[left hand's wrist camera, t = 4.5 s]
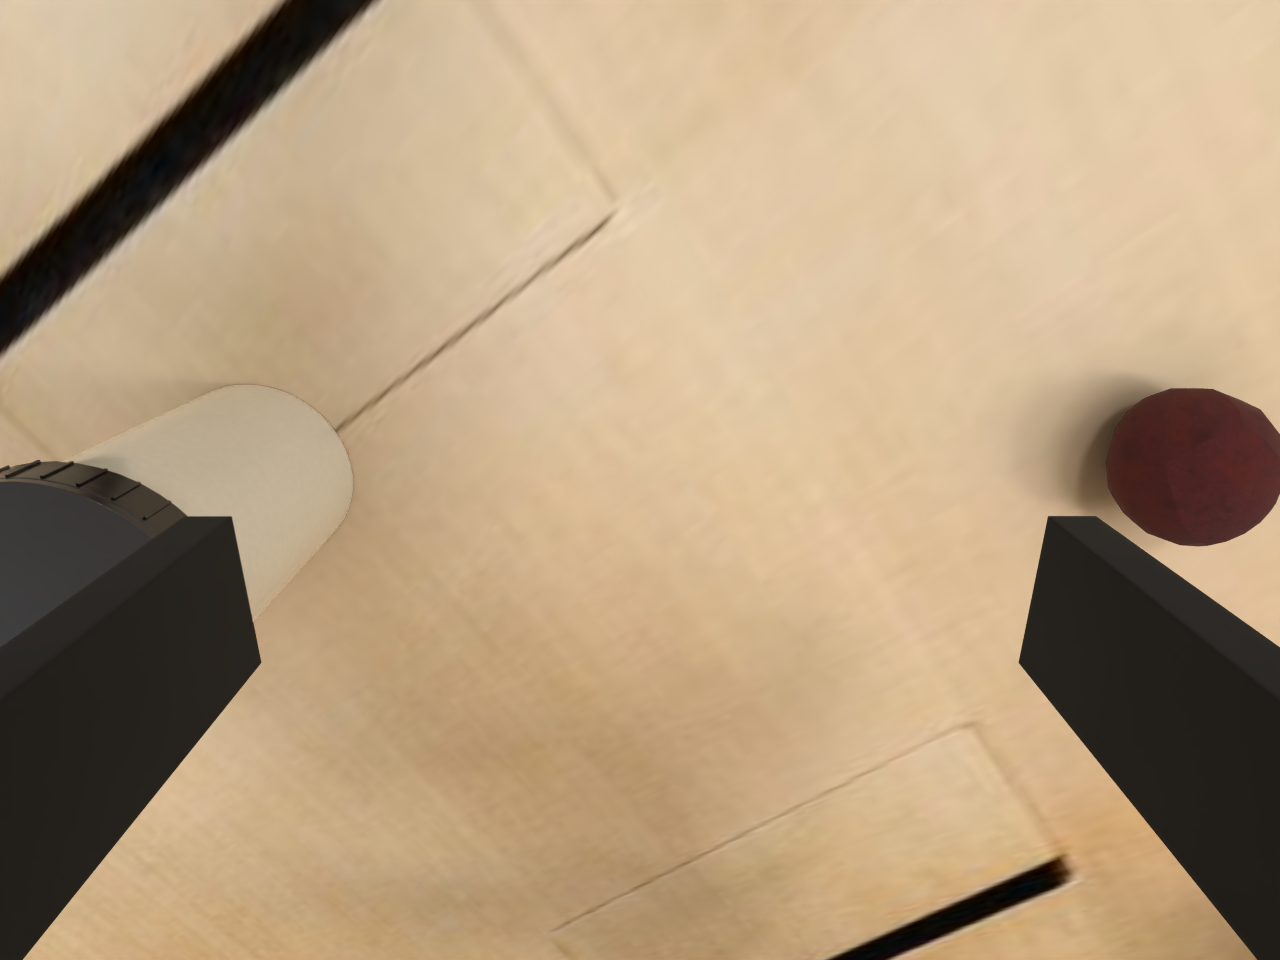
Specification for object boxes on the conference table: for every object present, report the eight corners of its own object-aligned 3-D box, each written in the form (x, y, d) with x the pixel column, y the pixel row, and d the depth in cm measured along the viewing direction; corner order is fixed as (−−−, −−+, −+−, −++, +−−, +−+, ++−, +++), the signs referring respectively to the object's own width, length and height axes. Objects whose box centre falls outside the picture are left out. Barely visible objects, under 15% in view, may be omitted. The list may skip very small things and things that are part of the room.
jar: (247, 582, 44) (55, 773, 30) (130, 437, 41) (-146, 571, 27) (388, 506, 42) (259, 670, 28) (278, 350, 39) (69, 442, 25)
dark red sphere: (1109, 533, 43) (1194, 595, 36) (1053, 421, 41) (1134, 465, 34) (1239, 463, 41) (1353, 515, 35) (1189, 343, 39) (1301, 374, 32)
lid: (83, 761, 31) (46, 799, 29) (-130, 543, 28) (-187, 570, 26) (302, 651, 30) (278, 683, 28) (103, 403, 26) (60, 421, 24)
